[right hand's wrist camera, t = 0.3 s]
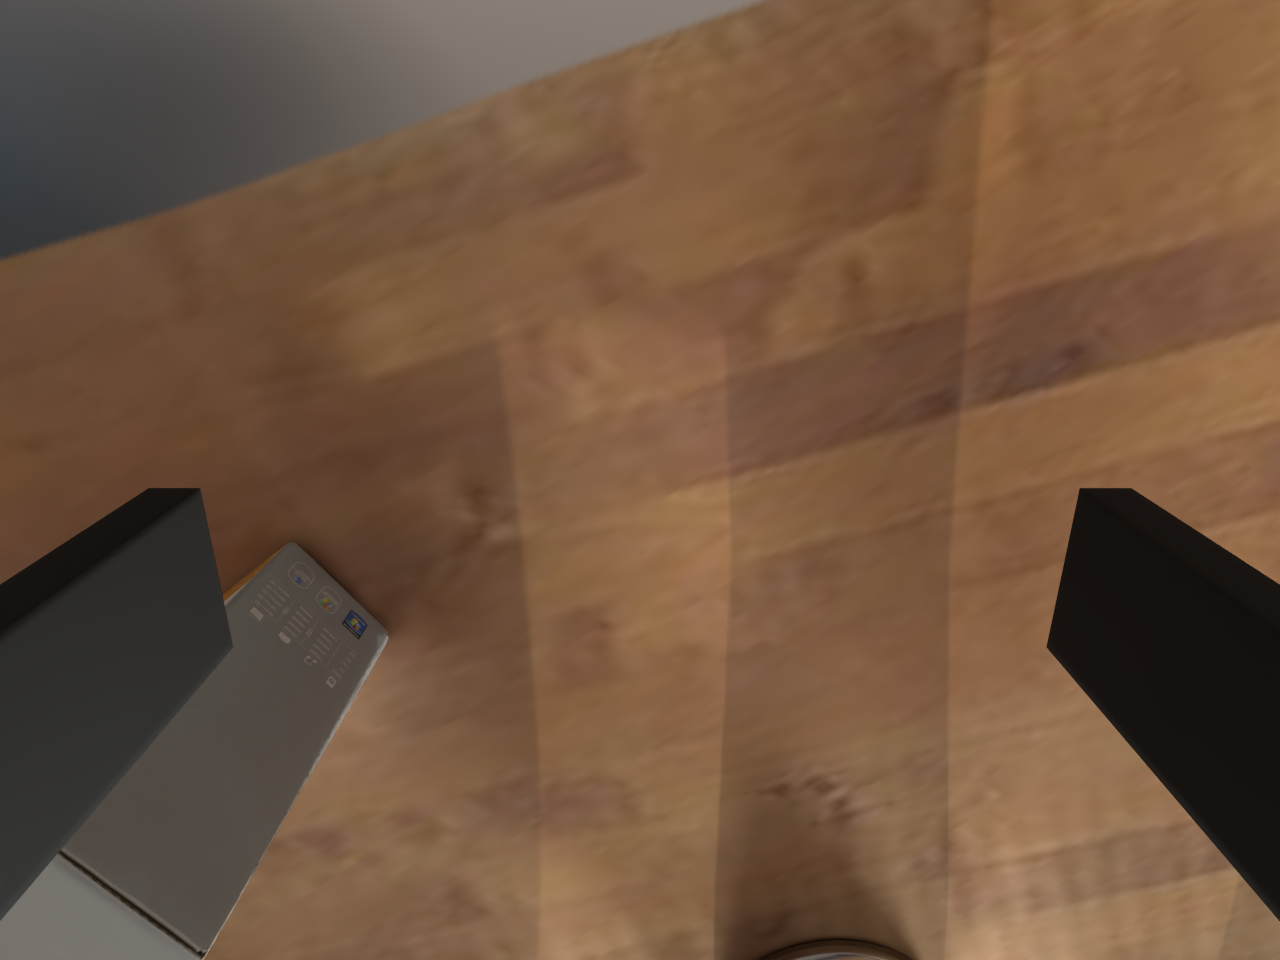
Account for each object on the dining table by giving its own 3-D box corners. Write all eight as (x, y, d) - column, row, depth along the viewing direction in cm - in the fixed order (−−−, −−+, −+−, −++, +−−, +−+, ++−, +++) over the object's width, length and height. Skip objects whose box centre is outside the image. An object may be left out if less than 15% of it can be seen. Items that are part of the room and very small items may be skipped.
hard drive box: (292, 532, 42) (21, 817, 24) (395, 632, 45) (220, 963, 26) (103, 686, 46) (-264, 1040, 27) (207, 772, 48) (-67, 1153, 29)
